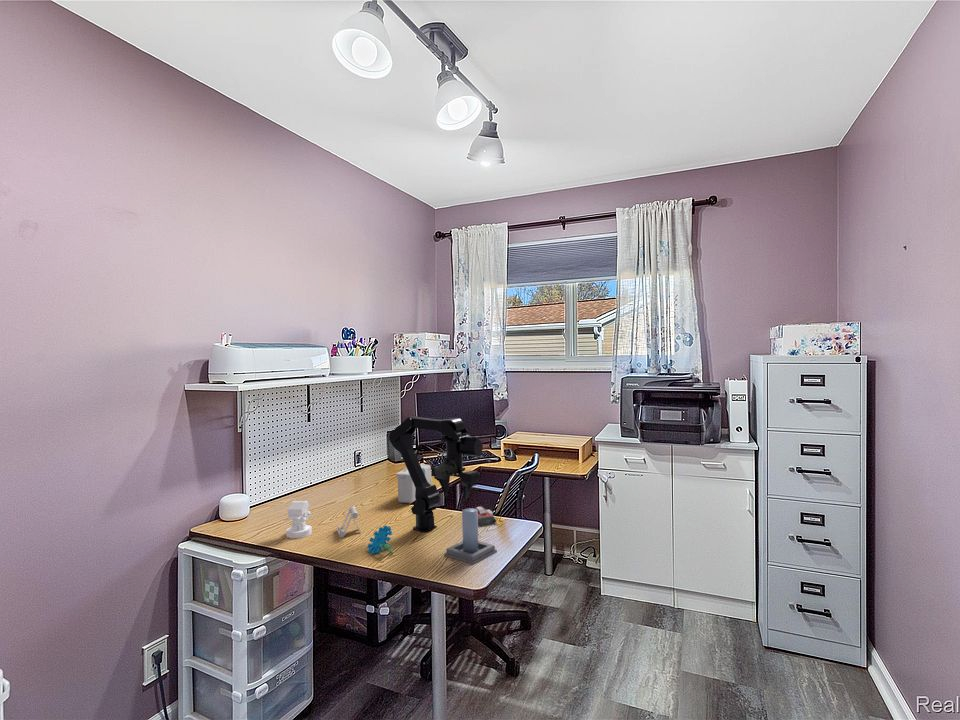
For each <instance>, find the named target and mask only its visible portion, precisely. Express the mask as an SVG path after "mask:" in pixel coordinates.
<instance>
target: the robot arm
mask: <svg viewBox="0 0 960 720" xmlns="http://www.w3.org/2000/svg"><path fill="white" fill-rule="evenodd" d="M417 429H420V430H429V431H434V432H435V431H437V432H438V433H439V434H442V435H443V437H442V438H441V439H440V442H444V443H445V454H446V457H444V458H443V462H442V463H441V464H439V465H438V466H436V467H432V468H431V477H433V479H435V480H437V482H439V484H440V486H441V487H440V488H441V489H442V492H443V495H444V497H447V496H448V495H449V490H450V488H449V487H450V479H451V477H456V478H460V480H461V482H460V484H461V486H462V489H463V490H462V492H463V494H462V495H463V500H464V501H468V498H469V496H470V493H471V491H472V488H473V486H474V484H475V483H476V482H478V481H479V480H481V476H480V475H481V473H480V472H479V471H477V470H472V469H471V470H468V471H466V467H464V464H463V463H464V462H463V460H465V459H466V456H471V457H480V456H481V455H482V453H483V448H484V446H483V443H482V441H481V440H480V436H479V435H478V436H477V435H475V436H471V433H469V430H468V429H467V428H466V426H465V424H464V421H463V420H462V419H461V418H459V417H456V418H455V417H454V418H446V419H437V418H429V417H421V416H420V417H419V416H417V415H414V416H409V417H407V418H405V419H404V421H403V422H401V423H400V424H399V425H397V426H395V428H394V429H391V431H390V432H389V435H388V439H389V442H390V444H391V445H392V447H393V449H395V450H396V451H397V452H398V453H399V454H400V456H401V458H402V460H403V463H404V465H405V468H406V467H407V468H406V469H408V472H409V474H410V476H411V479H412V481H413V483H414V486H415V488H416V491H415V498H416V500H415V503H414V504H413V505H412V507H410V508H411V509H410V510H411V513H412V515H415V526H413V527H412V529H413V530H416V531H420V532H423V533H426V532H429V531H432V530H433V529H436V528H438V526H437V525H435V516H434V510H436V509H437V508H438V505H439V503H440V500H441V497H440V492H439V491H438V487H437V486H436V484H431V485H430V484H429V483H428V482H427V479H426V477H425V475H424V473H423V470H422V468H421V466H420V461H419V459H418V457H417V454H416V453H415V452H416V451H415V450H414V448H413V444H414V439H413V434H415V432H416V430H417Z"/></svg>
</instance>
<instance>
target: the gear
mask: <svg viewBox="0 0 960 720" xmlns="http://www.w3.org/2000/svg"><path fill="white" fill-rule="evenodd" d="M392 534H393V531H392V528H391V526H388V525H386V524H385V525H383V527H382V526H381V527H380V526H379V528H378V532H377V531H375V532H373V535H374V537H370V538H369V543H368V545H367V548H368V550H367V552H368V553H370V554H373V555H376V553H381V551H382V549H384V551H385V552H389V553H390V554H394V551H393V550H392V549H391V548H392V546H391V545H390V544H389V542H390V540H391V537H390V536H392Z"/></svg>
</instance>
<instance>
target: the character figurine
mask: <svg viewBox="0 0 960 720" xmlns="http://www.w3.org/2000/svg"><path fill="white" fill-rule="evenodd" d="M311 507H312V505H311V504H310V503H309V502H308V500H292V502H290V503H289V506H288V508H287V509H286V510H287V515H288V516H286V521H287V520H288V521H289V520H291V522H292V523H291V524H290V525H291V526H290V527H288V528H287V529H286V531H285V532H286V533H285V534H286V537H287V538H288V537H289V539H300V538H304V537H305V538H306V537H308V536H310V535H312V533H313V531H312V526H311V525H309V524H306V522H307V521H308V519H309V517H310V516H311V515H312V513H311V511H310V508H311Z"/></svg>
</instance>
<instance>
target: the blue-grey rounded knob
mask: <svg viewBox="0 0 960 720" xmlns="http://www.w3.org/2000/svg"><path fill="white" fill-rule="evenodd" d="M461 514H462V515H461V516H462V518H461V519H462V521H461V522H462V523H461V524H462V526H461V527H462V528H461V529H462V530H461V531H462V541H463V551H464V552H467V553H470V554H473V553H475V552H477V551H478V541H479V525H478V510H477V509H475V508H471V507H470V508H464V509H462V510H461Z"/></svg>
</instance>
